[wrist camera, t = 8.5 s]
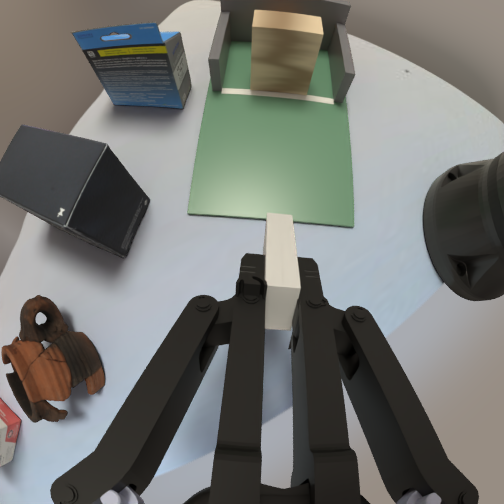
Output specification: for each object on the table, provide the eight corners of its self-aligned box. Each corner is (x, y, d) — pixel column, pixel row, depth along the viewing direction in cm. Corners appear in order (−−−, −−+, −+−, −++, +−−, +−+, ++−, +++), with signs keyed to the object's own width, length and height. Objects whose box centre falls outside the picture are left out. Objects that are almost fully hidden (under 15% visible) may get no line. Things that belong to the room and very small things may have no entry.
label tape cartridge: (193, 84, 30) (176, -2, 17) (183, 110, 29) (158, 22, 17) (124, 82, 30) (90, 8, 18) (112, 106, 29) (69, 33, 17)
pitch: (337, 50, 31) (353, 2, 23) (352, 227, 27) (392, 196, 19) (220, 38, 31) (216, -12, 23) (188, 214, 27) (165, 175, 19)
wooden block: (305, 76, 29) (320, 17, 21) (306, 95, 29) (323, 34, 20) (252, 71, 29) (254, 9, 20) (250, 89, 29) (252, 26, 20)
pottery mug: (119, 413, 24) (53, 449, 16) (69, 384, 28) (13, 406, 20) (96, 291, 23) (10, 311, 15) (49, 283, 27) (-16, 294, 19)
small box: (154, 195, 27) (111, 139, 17) (126, 260, 26) (66, 233, 16) (74, 169, 28) (20, 119, 17) (48, 224, 26) (-17, 191, 16)
